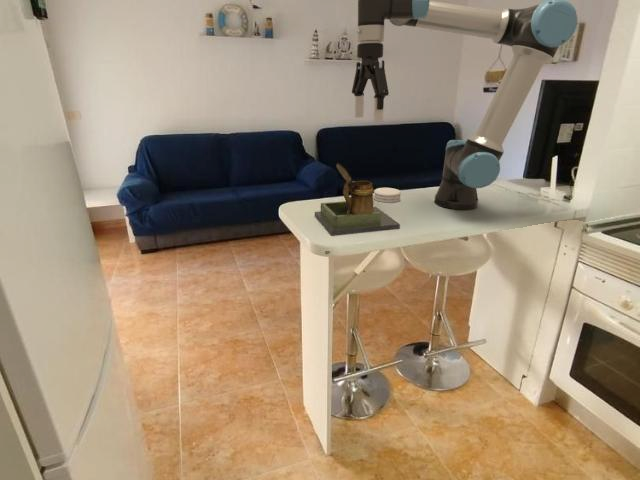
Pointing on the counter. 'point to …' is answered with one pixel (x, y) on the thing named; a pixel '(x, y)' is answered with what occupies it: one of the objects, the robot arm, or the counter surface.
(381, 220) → the green and grey tray
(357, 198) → the wooden mug
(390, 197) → the coaster
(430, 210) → the counter surface
